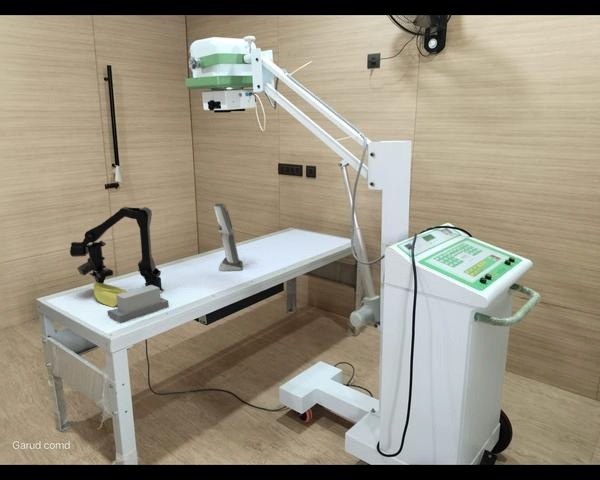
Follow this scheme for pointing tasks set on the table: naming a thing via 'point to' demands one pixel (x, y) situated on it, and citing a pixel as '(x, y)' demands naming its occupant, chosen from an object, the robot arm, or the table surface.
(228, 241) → the grey tall upright piece
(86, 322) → the table surface
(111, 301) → the yellow long curved piece
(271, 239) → the table surface
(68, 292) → the table surface
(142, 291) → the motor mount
